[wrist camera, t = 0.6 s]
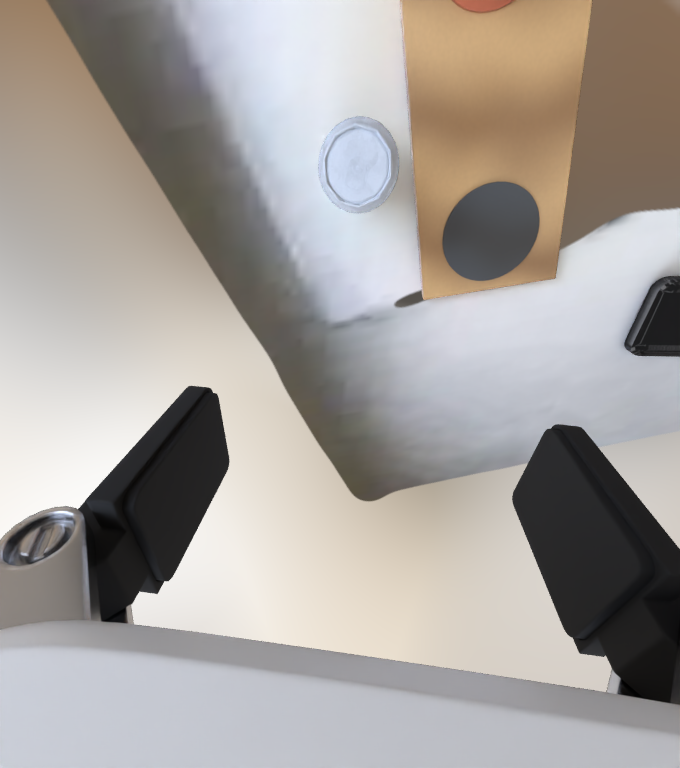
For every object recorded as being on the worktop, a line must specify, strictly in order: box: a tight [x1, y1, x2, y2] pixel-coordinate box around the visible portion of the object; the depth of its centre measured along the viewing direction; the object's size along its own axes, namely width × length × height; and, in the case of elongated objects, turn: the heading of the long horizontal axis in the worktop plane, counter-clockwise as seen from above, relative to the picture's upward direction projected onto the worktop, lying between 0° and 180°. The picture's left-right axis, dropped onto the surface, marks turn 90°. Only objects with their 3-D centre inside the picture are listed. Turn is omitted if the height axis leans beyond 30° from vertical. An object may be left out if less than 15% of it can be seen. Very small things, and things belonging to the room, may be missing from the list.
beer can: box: [318, 116, 399, 213], centre depth 24 cm, size 5×5×12 cm
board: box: [400, 0, 593, 300], centre depth 25 cm, size 28×12×2 cm, turn 12°
